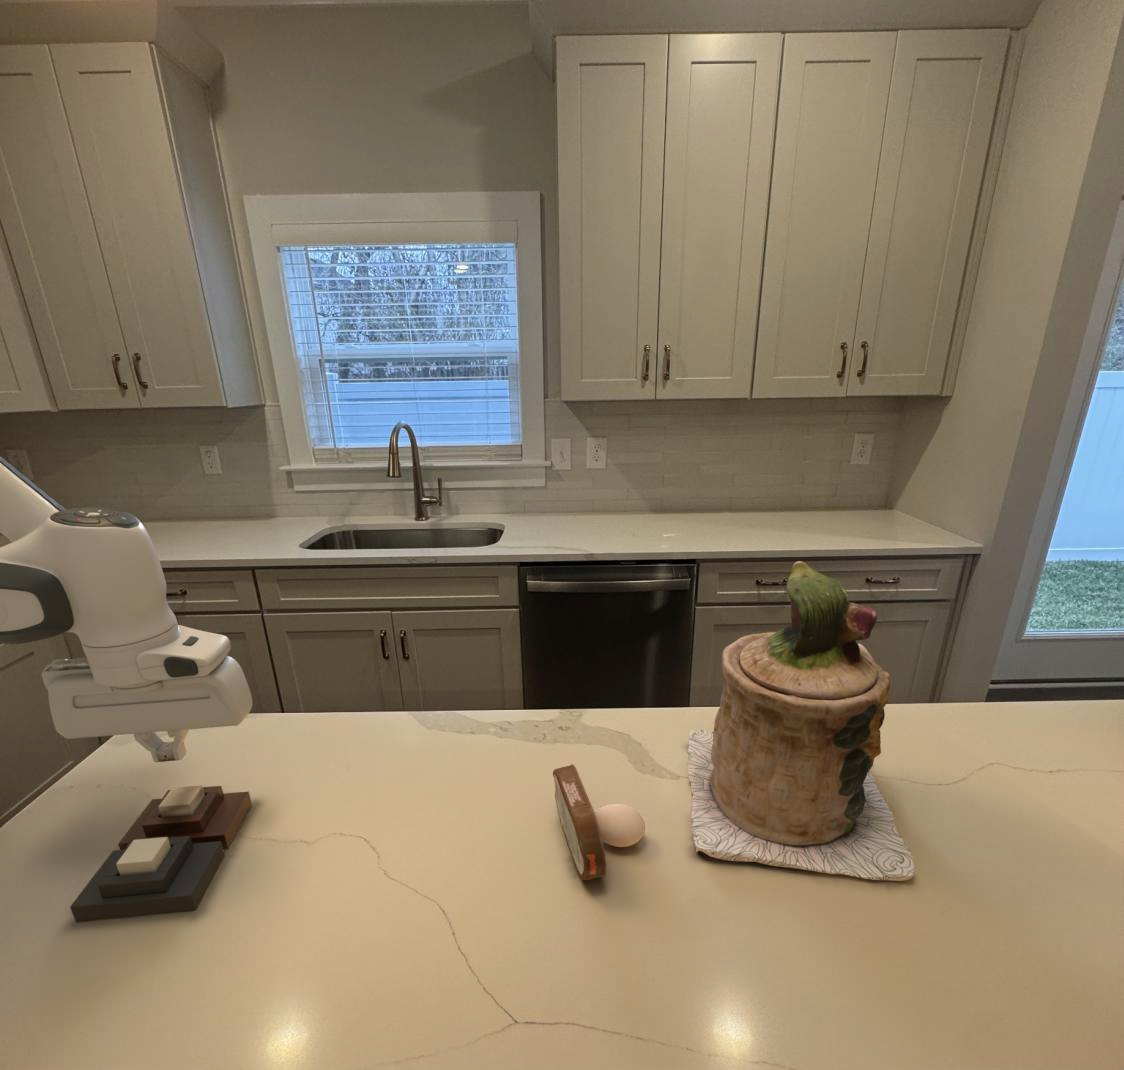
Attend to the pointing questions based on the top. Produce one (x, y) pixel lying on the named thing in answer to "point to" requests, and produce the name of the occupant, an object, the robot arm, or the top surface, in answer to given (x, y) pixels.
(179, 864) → the dark grey stepped block
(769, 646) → the cookie jar
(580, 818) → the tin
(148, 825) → the brown push button base
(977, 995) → the top surface
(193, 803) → the key
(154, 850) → the key
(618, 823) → the egg
